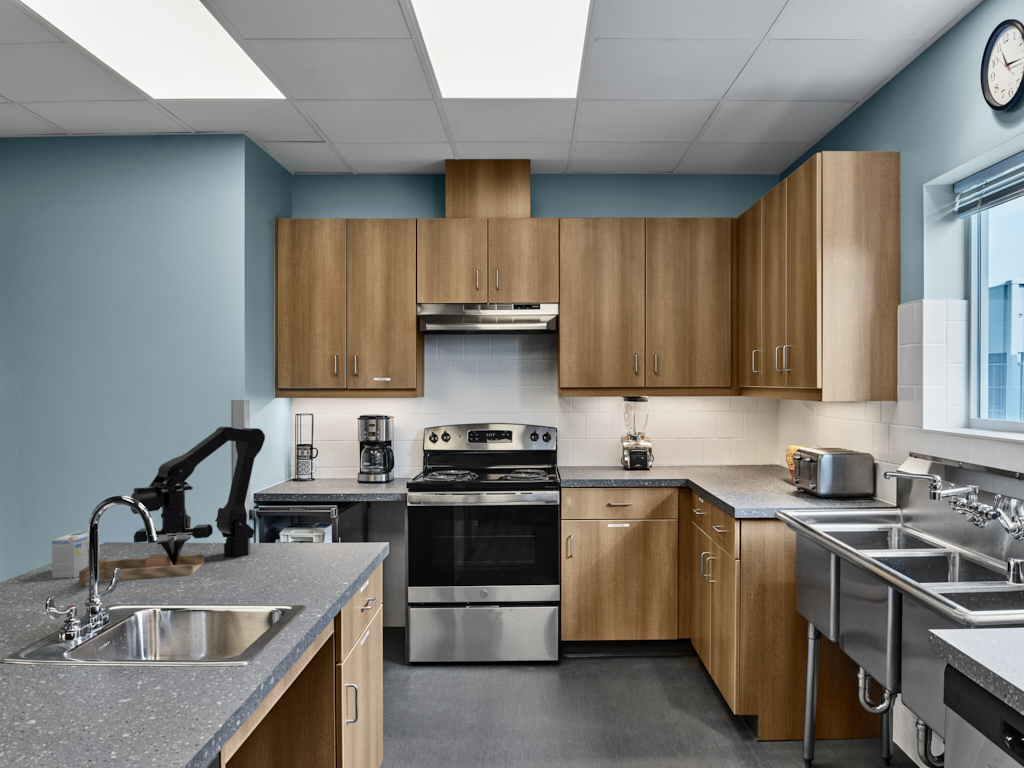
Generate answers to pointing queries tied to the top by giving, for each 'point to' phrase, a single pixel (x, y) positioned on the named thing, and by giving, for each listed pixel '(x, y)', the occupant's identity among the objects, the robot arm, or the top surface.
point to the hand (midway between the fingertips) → (174, 564)
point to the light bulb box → (70, 554)
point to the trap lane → (143, 568)
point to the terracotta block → (158, 560)
